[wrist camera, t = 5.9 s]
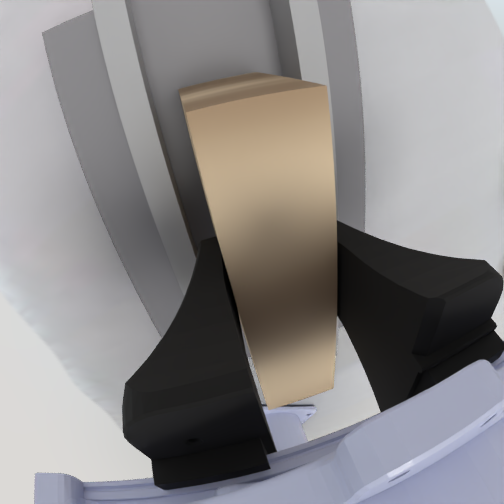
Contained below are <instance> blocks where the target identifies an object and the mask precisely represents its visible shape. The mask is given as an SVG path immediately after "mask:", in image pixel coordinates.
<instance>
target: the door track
mask: <svg viewBox="0 0 504 504" xmlns="http://www.w3.org/2000/svg"><path fill="white" fill-rule="evenodd" d="M91 1H92V6H93V11H91V12H88V13H85V14H83V15H81V16H78V17H76V18H73V19H71V20H69V21H66V22H64V23H62V24H60V25H58V26H55V27H53V28H51V29H49V30H47V31H45V32H43V33H42V35H43V39H44V44H45V48H46V53H47V57H48V61H49V65H50V69H51V73H52V77H53V80H54V84H55V87H56V91H57V94H58V98H59V101H60V105H61V108H62V111H63V114H64V118H65V121H66V124H67V127H68V130H69V133H70V136H71V139H72V142H73V145H74V148H75V150H76V153H77V156H78V159H79V161H80V164H81V167H82V170H83V172H84V175H85V177H86V180H87V183H88V185H89V188H90V190H91V193H92V195H93V198H94V200H95V203H96V205H97V207H98V210H99V212H100V214H101V217H102V219H103V221H104V224H105V226H106V228H107V231H108V233H109V235H110V237H111V239H112V242H113V244H114V246H115V248H116V250H117V252H118V255H119V257H120V259H121V261H122V263H123V265H124V267H125V269H126V271H127V273H128V275H129V277H130V279H131V281H132V283H133V285H134V287H135V289H136V291H137V293H138V295H139V297H140V299H141V301H142V303H143V305H144V307H145V308H146V310H147V312H148V314H149V316H150V318H151V320H152V321H153V323H154V325H155V327H156V329H157V330H158V332H159V334H160V336H161V337H162V338H163V336H164V335H165V333H166V332H167V330H168V328H169V326H170V325H171V323H172V321H173V319H174V318H175V316H176V314H177V312H178V310H179V308H180V305H181V303H182V301H183V299H184V296H185V294H186V291H187V288H188V285H189V283H190V280H191V277H192V273H193V270H194V266H195V263H196V258H197V254H198V246H199V243H200V241H201V240H205V239H208V238H212V237H215V236H216V235H215V231H214V227H213V224H212V220H211V216H210V213H209V209H208V205H207V201H206V198H205V194H204V190H203V186H202V183H201V179H200V175H199V171H198V167H197V163H196V160H195V156H194V152H193V148H192V144H191V140H190V136H189V132H188V128H187V124H186V120H185V116H184V112H183V108H182V104H181V99H180V95H179V91H178V89H181V88H184V87H188V86H192V85H196V84H200V83H205V82H209V81H213V80H218V79H223V78H227V77H232V76H237V75H243V74H248V73H254V72H259V73H265V74H272V75H277V76H283V77H289V78H294V79H299V80H304V81H309V82H313V83H318V84H322V85H326V86H327V92H328V101H329V111H330V122H331V133H332V145H333V159H334V175H335V194H336V219H337V220H338V221H340V222H342V223H344V224H346V225H348V226H351V227H353V228H355V229H357V230H359V231H362V232H365V148H364V124H363V107H362V94H361V82H360V71H359V61H358V53H357V44H356V36H355V29H354V22H353V16H352V9H351V3H350V0H91ZM240 324H241V322H240ZM342 326H343V324H342V323H341V321H340V319H339V318H338V316H337V328H336V353H335V356H337V345H338V328H339V327H342ZM241 329H242V334H243V340H244V345H245V350H246V354H247V358H248V357H251V354H250V351H249V348H248V345H247V341H246V338H245V335H244V332H243V328H242V325H241Z"/></svg>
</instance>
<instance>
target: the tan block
mask: <svg viewBox="0 0 504 504" xmlns="http://www.w3.org/2000/svg"><path fill="white" fill-rule="evenodd" d="M178 91H179V95H180V99H181V104H182V108H183V112H184V116H185V120H186V124H187V128H188V132H189V136H190V140H191V144H192V148H193V152H194V156H195V160H196V163H197V167H198V171H199V175H200V179H201V183H202V186H203V190H204V194H205V198H206V201H207V205H208V209H209V213H210V216H211V220H212V224H213V227H214V231H215V235H216V236H217V239H218V243H219V246H220V249H221V253H222V256H223V260H224V264H225V267H226V271H227V274H228V278H229V281H230V285H231V288H232V292H233V295H234V299H235V302H236V306H237V309H238V313H239V319H240V322H241V325H242V328H243V332H244V335H245V338H246V341H247V345H248V348H249V351H250V354H251V357H252V361H253V364H254V367H255V370H256V373H257V376H258V379H259V382H260V386H261V389H262V392H263V395H264V398H265V401H266V404H267V407H268V410H271V409H275V408H278V407H281V406H284V405H287V404H290V403H293V402H296V401H299V400H302V399H305V398H308V397H311V396H314V395H317V394H319V393H322V392H325V391H327V390H330V389H333V388H334V372H335V353H336V328H337V219H336V194H335V175H334V159H333V145H332V133H331V122H330V111H329V101H328V92H327V86H326V85H322V84H318V83H313V82H309V81H304V80H299V79H294V78H289V77H283V76H277V75H272V74H265V73H259V72H254V73H248V74H243V75H237V76H232V77H227V78H223V79H218V80H213V81H209V82H205V83H200V84H196V85H192V86H188V87H184V88H181V89H178Z"/></svg>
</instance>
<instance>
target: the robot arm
mask: <svg viewBox="0 0 504 504" xmlns="http://www.w3.org/2000/svg"><path fill="white" fill-rule="evenodd" d="M502 291H503V278H502V276H501V275H500V274H499V273H498V272H497V271H496V270H495V269H494V268H493V267H492V266H491V265H489V264H488V263H487V262H486V261H485V260H475V259H462V258H453V257H447V256H440V255H435V254H430V253H425V252H421V251H417V250H413V249H409V248H406V247H402V246H399V245H396V244H393V243H390V242H387V241H384V240H381V239H379V238H376V237H374V236H371V235H369V234H366V233H364V232H362V231H359V230H357V229H355V228H353V227H351V226H348V225H346V224H344V223H342V222H340V221H338V220H337V316H338V318H339V319H340V321H341V323H342V324H343V326H344V328H345V330H346V331H347V334H348V336H349V338H350V340H351V342H352V344H353V346H354V348H355V350H356V352H357V354H358V357H359V359H360V361H361V363H362V366H363V368H364V370H365V372H366V375H367V377H368V380H369V382H370V385H371V387H372V390H373V392H374V395H375V397H376V400H377V403H378V406H379V408H380V411H381V413H379V414H377V415H374V416H372V417H370V418H368V419H365V420H363V421H361V422H358V423H356V424H354V425H351V426H349V427H346V428H344V429H341V430H339V431H336V432H334V433H331V434H328V435H326V436H323V437H320V438H318V439H315V440H312V441H309V442H308V440H307V437H306V435H305V432H304V430H303V427H302V424H303V423H304V422H305V421H306V420H307V419H308V418H310V417H311V416H312V415H313V414H314V413H315V412H316V411H317V409H316V407H314V406H307V407H278V408H275V409H271V410H268V407H267V406H262V404H261V401H260V398H259V395H258V391H257V388H256V385H255V382H254V379H253V375H252V372H251V369H250V366H249V362H248V358H247V354H246V350H245V345H244V340H243V334H242V329H241V324H240V319H239V313H238V309H237V306H236V302H235V299H234V295H233V292H232V288H231V285H230V281H229V278H228V274H227V271H226V267H225V264H224V260H223V256H222V253H221V249H220V246H219V243H218V239H217V236H215V237H212V238H208V239H205V240H201V241H200V243H199V246H198V254H197V258H196V263H195V266H194V270H193V273H192V277H191V280H190V283H189V285H188V288H187V291H186V294H185V296H184V299H183V301H182V303H181V305H180V308H179V310H178V312H177V314H176V316H175V318H174V319H173V321H172V323H171V325H170V326H169V328H168V330H167V332H166V333H165V335H164V336H163V338H162V339H161V341H160V342H159V344H158V345H157V346H156V348H155V349H154V351H153V352H152V353H151V355H150V356H149V357H148V359H147V360H146V361H145V362H144V363H143V365H142V366H141V367H140V368H139V369H138V370H137V371H136V372H135V373H134V375H133V376H132V377H131V378H130V379H129V380H128V381H127V382H126V383H125V390H124V397H123V405H122V414H123V433H124V437H125V439H126V440H127V441H128V442H129V443H130V444H132V445H133V446H134V447H135V448H137V449H138V450H140V451H141V452H142V453H143V454H145V455H146V456H148V457H149V458H150V459H151V461H152V470H153V478H145V479H135V480H123V481H107V482H82V481H81V480H79V479H77V478H75V477H73V476H71V475H67V474H62V473H36V474H35V494H34V495H35V496H34V499H35V500H34V502H35V503H34V504H504V341H502V339H501V338H500V337H499V336H498V335H497V333H496V332H495V331H494V330H495V329H496V327H497V326H496V323H495V322H494V321H493V320H492V319H491V317H492V315H493V312H494V310H495V308H496V306H497V304H498V301H499V299H500V296H501V293H502Z"/></svg>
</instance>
